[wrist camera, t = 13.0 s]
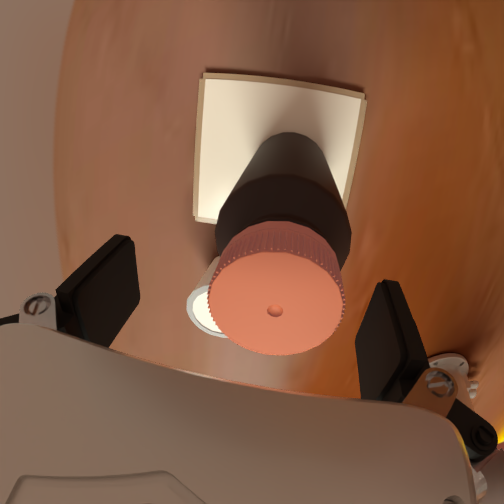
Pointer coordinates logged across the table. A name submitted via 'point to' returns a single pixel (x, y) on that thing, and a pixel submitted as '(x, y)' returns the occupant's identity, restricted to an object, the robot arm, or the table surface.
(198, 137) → the plate
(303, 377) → the table surface
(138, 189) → the table surface
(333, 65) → the table surface
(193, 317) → the short white cylinder
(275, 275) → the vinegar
